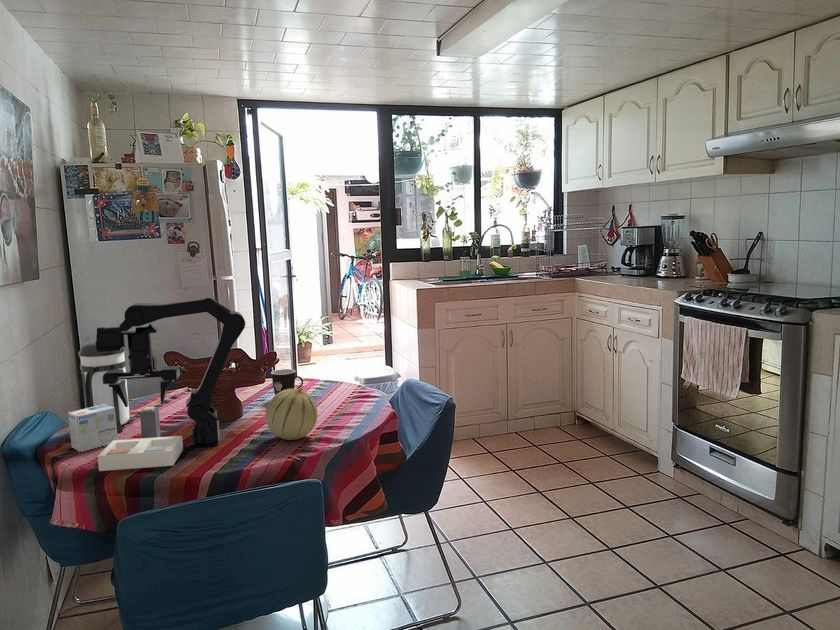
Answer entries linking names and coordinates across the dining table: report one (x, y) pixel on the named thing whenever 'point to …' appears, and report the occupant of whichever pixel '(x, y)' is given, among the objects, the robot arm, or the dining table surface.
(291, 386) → the coffee mug
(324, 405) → the dining table surface
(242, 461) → the dining table surface
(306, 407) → the cantaloupe
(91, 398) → the coffee press
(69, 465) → the dining table surface
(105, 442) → the light bulb box
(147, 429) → the grey rectangular block
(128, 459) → the socket block
